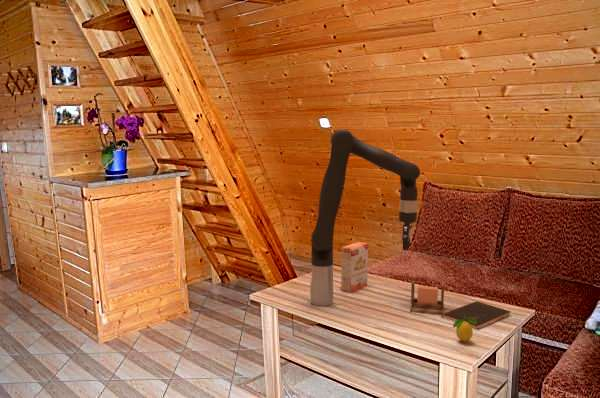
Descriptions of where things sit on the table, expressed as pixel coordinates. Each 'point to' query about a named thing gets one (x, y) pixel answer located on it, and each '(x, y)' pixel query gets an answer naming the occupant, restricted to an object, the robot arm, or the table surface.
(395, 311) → the table surface
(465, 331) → the lemon
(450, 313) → the hardcover book
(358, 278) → the cracker box
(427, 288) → the door panel
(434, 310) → the track frame
